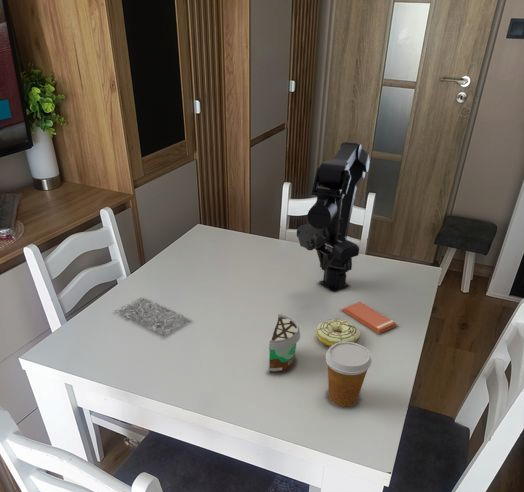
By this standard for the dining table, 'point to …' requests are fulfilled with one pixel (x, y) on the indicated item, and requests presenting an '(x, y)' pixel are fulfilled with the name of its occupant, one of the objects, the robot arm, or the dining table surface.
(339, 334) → the decorated donut
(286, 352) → the food container
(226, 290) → the dining table surface
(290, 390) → the dining table surface
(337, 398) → the disposable coffee cup
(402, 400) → the dining table surface
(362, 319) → the orange flat bar
